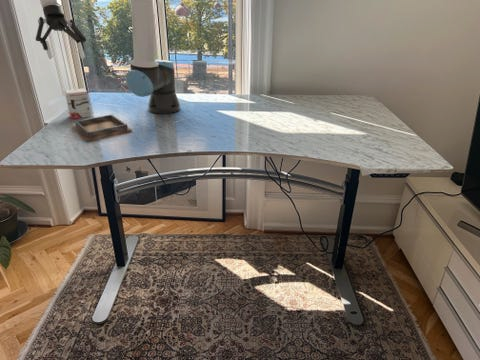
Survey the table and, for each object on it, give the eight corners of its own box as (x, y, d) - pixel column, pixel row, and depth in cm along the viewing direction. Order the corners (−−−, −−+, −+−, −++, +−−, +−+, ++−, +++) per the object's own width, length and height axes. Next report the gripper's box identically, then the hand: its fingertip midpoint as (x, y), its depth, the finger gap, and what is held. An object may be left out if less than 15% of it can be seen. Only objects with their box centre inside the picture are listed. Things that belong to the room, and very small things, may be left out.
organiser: (114, 119, 152) (113, 113, 151) (131, 131, 140) (131, 124, 139) (72, 127, 142) (70, 121, 140) (87, 141, 130) (85, 134, 129)
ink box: (72, 119, 151) (66, 93, 145) (69, 116, 154) (64, 90, 148) (92, 116, 155) (87, 90, 149) (89, 113, 158) (84, 88, 153)
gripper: (78, 14, 156) (92, 61, 158) (17, 8, 138) (33, 60, 140) (84, 7, 151) (98, 54, 153) (21, -1, 133) (38, 54, 135)
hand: (67, 57), depth 146 cm, fingers open, 13 cm apart
